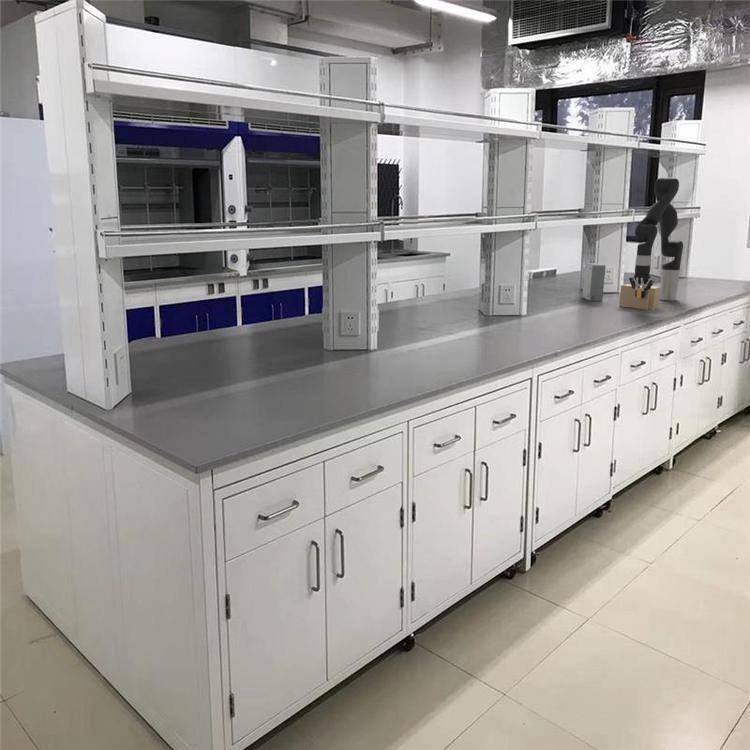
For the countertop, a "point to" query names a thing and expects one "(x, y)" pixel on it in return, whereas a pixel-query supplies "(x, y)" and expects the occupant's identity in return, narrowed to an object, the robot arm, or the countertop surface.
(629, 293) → the flap
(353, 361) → the countertop surface
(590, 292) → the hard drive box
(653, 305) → the carton
